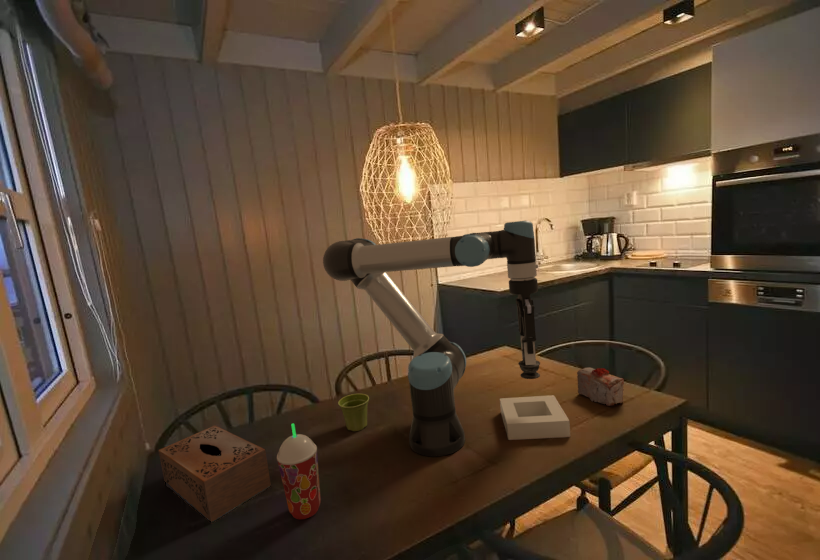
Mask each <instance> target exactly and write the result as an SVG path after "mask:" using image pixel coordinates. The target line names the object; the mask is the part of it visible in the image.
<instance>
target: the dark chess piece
mask: <svg viewBox="0 0 820 560" xmlns="http://www.w3.org/2000/svg"><path fill="white" fill-rule="evenodd" d="M522 340H524V338H523V339H522ZM522 351H523V359H522V360H520V361H518V365H519V368H520V371H522V372H521V374H520V378H523V379H526V380H534V379H538V378H540V377H541V374H540V373H539V372H538V371H539V368H540V365H541V362H540V361H539V360H537V359H536V364H535V365H526V364H525V352H524V342H523V349H521V352H522Z"/></svg>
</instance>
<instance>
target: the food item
mask: <svg viewBox="0 0 820 560" xmlns="http://www.w3.org/2000/svg"><path fill="white" fill-rule="evenodd" d="M576 375H577V376H576V377H577V392H578V394H579V395H582V396H584V397H587V398H589V400H590V401H591V402H593V401H594V403H598V404H603V405H605V404H606V405H605V406H607V407H610V406H614V405H613V404H616V405H618V404H617V403H620V404H623V403H624V400H623V399H624V390H625V389H624V384H625V381H624V378H622V377H619V376H615V375H613V374H610V371H609V370H607V369H606V368H603V367H601V368H600V367H597V368H593V367H584V368H581V369H579V370H577V372H576ZM622 402H623V403H622Z"/></svg>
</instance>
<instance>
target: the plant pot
mask: <svg viewBox="0 0 820 560" xmlns="http://www.w3.org/2000/svg"><path fill="white" fill-rule="evenodd" d="M369 400H370V397H369V395H368V394H365V393H352V394H349V395H345V396H343V397H342V398H340V399H339V400H338V401H337V404H338V406H339V407H340V410H341V411H342V414H343V420H344V422H345V425H346V429H347V431H352V432H359V431H362V430H364V428H366V427H367V426H368V405H369V402H370V401H369Z"/></svg>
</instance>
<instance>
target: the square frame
mask: <svg viewBox="0 0 820 560" xmlns="http://www.w3.org/2000/svg"><path fill="white" fill-rule="evenodd" d="M499 406H500V414H501V419H502V422H503V425H504V429H505V433H506V437H507V440H509V441H512V440H515V441H517V440H534V439H538V440H539V439H551V438H552V439H553V438H554V439H555V438H556V439H557V438H571V425H570V419H569V417H568V416H567V414H566V413H565V411H564V409H563V408H562V406H561V405H560V402H559V401H558V400H557V398H556V396H555V395H536V396H534V395H533V396H521V397H519V396H518V397H517V396H516V397H505V398H504V397H503V398H499Z"/></svg>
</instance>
